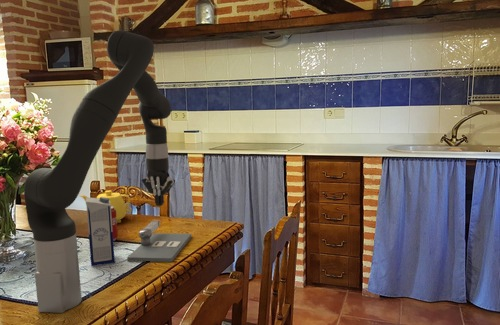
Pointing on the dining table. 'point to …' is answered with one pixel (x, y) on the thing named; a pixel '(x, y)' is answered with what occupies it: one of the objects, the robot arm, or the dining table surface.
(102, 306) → the dining table surface
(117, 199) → the teapot
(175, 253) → the panel
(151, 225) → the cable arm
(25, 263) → the dining table surface
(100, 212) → the milk carton
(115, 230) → the beverage can
